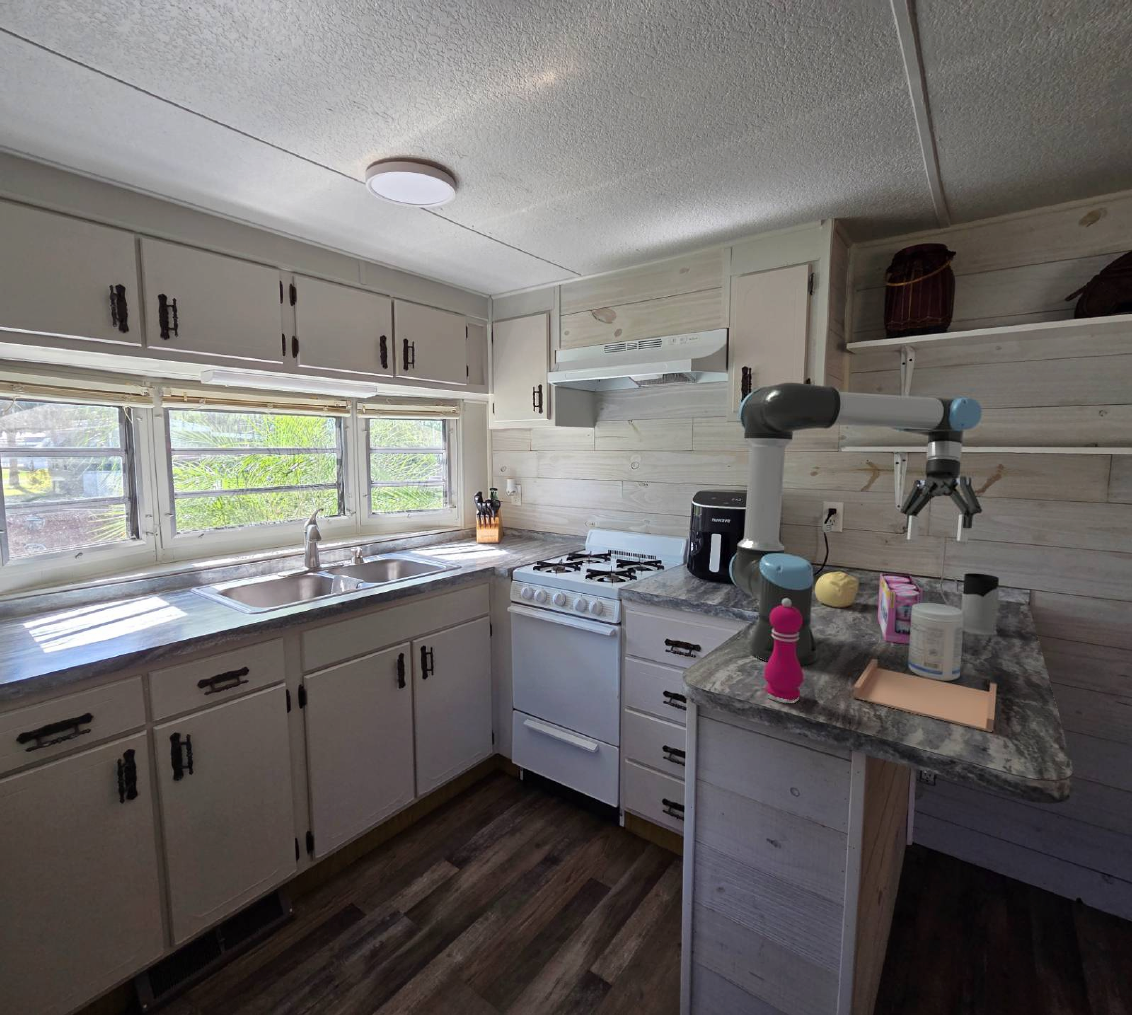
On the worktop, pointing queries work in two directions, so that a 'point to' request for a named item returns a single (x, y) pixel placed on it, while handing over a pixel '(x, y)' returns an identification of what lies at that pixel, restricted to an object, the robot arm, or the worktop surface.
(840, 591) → the sculpture
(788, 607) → the pepper mill
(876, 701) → the tan shallow tray
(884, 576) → the gum box
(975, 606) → the glass holder
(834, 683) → the worktop surface
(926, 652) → the supplement tub
